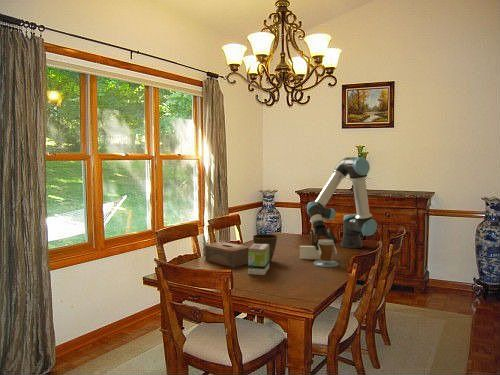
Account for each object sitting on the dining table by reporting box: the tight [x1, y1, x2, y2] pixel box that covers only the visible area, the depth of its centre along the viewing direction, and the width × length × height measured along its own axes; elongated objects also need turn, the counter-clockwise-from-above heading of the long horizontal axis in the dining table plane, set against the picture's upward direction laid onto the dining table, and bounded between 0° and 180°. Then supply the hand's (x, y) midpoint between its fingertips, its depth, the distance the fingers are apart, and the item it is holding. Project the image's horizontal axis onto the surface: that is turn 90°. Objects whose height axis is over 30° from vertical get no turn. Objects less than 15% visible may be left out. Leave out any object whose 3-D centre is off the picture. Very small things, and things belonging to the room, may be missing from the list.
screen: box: [299, 245, 333, 261], centre depth 271 cm, size 20×2×8 cm, turn 80°
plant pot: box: [252, 233, 278, 263], centre depth 266 cm, size 15×15×16 cm
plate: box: [313, 259, 340, 268], centre depth 259 cm, size 15×15×1 cm
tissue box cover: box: [204, 241, 251, 268], centre depth 267 cm, size 26×14×10 cm, turn 46°
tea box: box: [247, 243, 270, 276], centre depth 244 cm, size 15×10×15 cm, turn 168°
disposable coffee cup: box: [317, 238, 334, 261], centre depth 258 cm, size 10×10×12 cm
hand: (328, 253), depth 255 cm, fingers closed on disposable coffee cup, 9 cm apart
